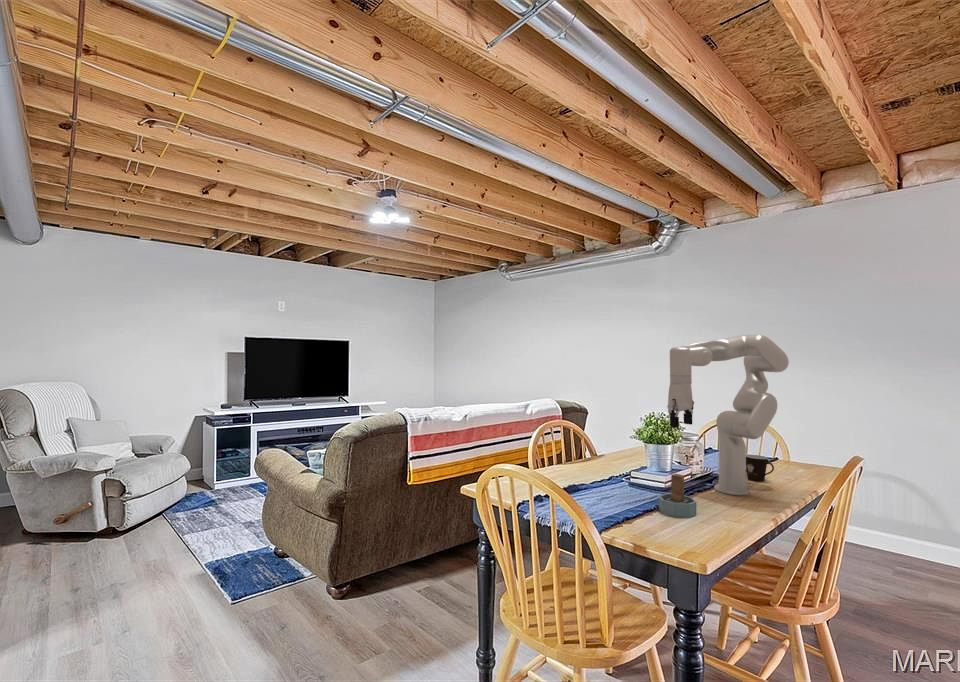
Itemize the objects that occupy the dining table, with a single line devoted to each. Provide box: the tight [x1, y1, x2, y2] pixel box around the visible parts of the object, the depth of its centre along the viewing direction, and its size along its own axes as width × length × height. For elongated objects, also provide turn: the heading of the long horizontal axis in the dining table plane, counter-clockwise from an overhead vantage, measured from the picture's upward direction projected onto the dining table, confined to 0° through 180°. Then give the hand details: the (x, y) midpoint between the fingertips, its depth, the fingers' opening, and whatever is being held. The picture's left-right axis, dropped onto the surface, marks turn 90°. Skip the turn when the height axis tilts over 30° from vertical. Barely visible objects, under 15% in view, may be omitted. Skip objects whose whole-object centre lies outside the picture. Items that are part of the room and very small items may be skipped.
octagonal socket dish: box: [658, 493, 697, 519], centre depth 167 cm, size 11×11×4 cm
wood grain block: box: [670, 473, 685, 503], centre depth 167 cm, size 3×3×12 cm
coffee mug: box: [746, 454, 775, 483], centre depth 209 cm, size 12×9×10 cm
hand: (681, 425), depth 183 cm, fingers open, 9 cm apart
